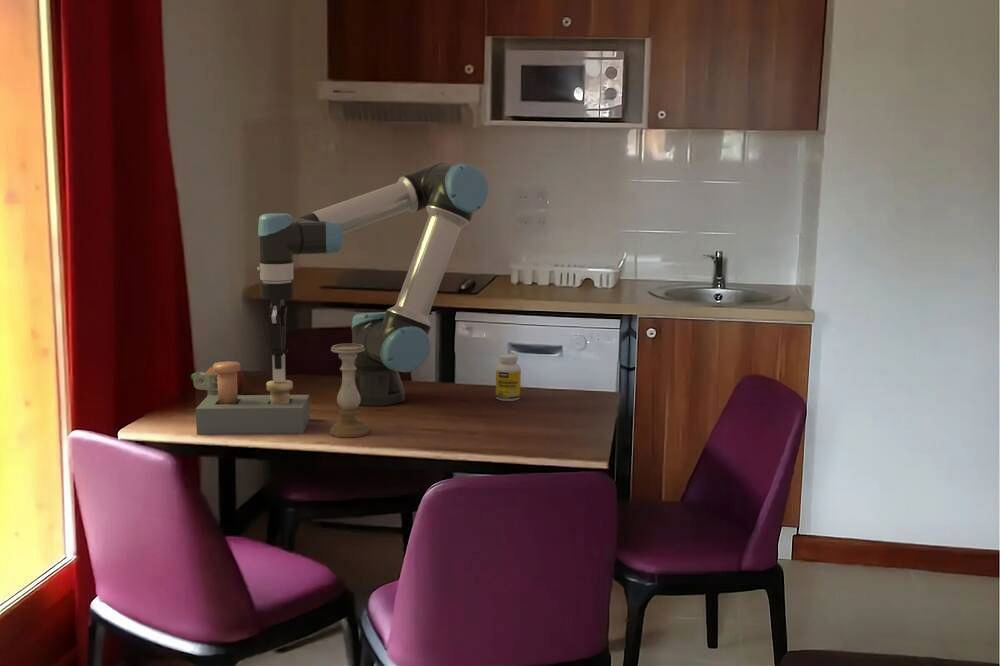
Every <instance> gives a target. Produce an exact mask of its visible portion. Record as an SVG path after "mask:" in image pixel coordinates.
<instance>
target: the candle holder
mask: <svg viewBox="0 0 1000 666" xmlns="http://www.w3.org/2000/svg"><path fill="white" fill-rule="evenodd" d="M364 350H365V347H364V346H363V345H361V344H352V343H339V344H338V343H337V344H333V345H332V346H331V348H330V351H331V352H332V353H335V354H338V358H339V359H340V360H341V366H340V368H339V370H340V371H341V374H342V375H341V377H342V378H341V386H340V388H339V391H338V394H337V395H336V402H337V403H336V404H337V405H338V407H340V409H339V410H338V414H339V415H340V417H341V420H340V421H337V422H335V423H334V424H333V426H331V427H330V429H329V434H330V435H331V436H334V437H338V438H357V437H363V436H365V435H367V434H368V433H369V427H368V426H367V425H365V424H364V423H365V422H363V421H361V420H358V419H357V418H358V416H359V413H360V410H359V408H358V406H360V405H359V404H360V401H361V397H360V394H359V392H358V390H357V387H356V385H355V376H354V373H355V370H356V369H357V368H356V366H355V365H354V360H355V359H356V357H357V353H359V352H363V351H364Z"/></svg>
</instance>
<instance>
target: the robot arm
mask: <svg viewBox="0 0 1000 666" xmlns="http://www.w3.org/2000/svg"><path fill="white" fill-rule="evenodd" d="M488 184H489V183H488V181H487V179H486V176H485V174H484V173H483V171H482V170H481V169H480V168H478V167H477V166H475V165H472V164H467V163H464V162H457V163H446V162H440V163H434V164H431V165H428V166H426V167H423V168H420V169H418V170H416V171H413V172H410V173H408V174H405V175H402V176H400V177H399V178H398V181H397V182H395V183H392V184H389V185H386V186H383V187H380V188H377V189H375V190H372V191H369V192H367V193H364V194H361V195H358V196H354V197H352V198H350V199H349V198H348V199H346V200H343V201H341V202H338V203H335V204H332V205H329V206H327V207H324V208H321V209H318V210H315V211H312V212H309V213H307V214H304V215H301V216H298V217H295V216H292V215H291V214H289V213H265V214H262V215H260V216H259V217H258V218H259V219H258V233H257V236H258V252H259V255H258V256H259V266H257V269H256V270H257V271H259V279H260V280H261V282H260V284H259V291H260V293H259V295H260V298H261V299H262V300H266V301H267V300H269V301H270V305H269V306H268V307H267V315H268V316H267V320H268V327H269V329H268V330H269V341H270V351H269V352H268V356H271V359H272V362H271V363H272V381H273V382H285V381H286V380H287V379H286V354H288V353H289V349H287V313H288V305H285V300H290V299H293V298H294V296H295V293H294V292H295V291H294V282H293V281H292V280H294V255H297V256H298V255H321V254H323V255H324V254H326V255H329V254H336V253H339V252H340V251H341V250H342V248H343V246H344V234H346V233H349V232H352V231H354V230H357V229H360V228H363V227H365V226H369V225H371V224H374V223H376V222H378V221H379V222H380V221H382V220H385V219H388V218H391V217H393V216H397V215H399V214H401V213H405V212H410V213H416V212H419V211H421V210H426V211H427V213H428V214H427V215H428V218H427V220H426V223H425V225H424V228H423V231H422V234H421V236H420V238H419V242H418V244H417V247H416V250H415V252H414V255H413V257H412V261H411V263H410V265H409V268H408V271H407V273H406V277H405V279H404V281H403V284H402V287H401V290H400V292H399V295H398V298H397V300H396V303H395V305H394V306H392V307H389V308H388V309H386V311H383V312H381V311H379V312H367V313H365V312H364V313H357V314H355V315H353V317H352V322H351V324H352V325H351V334H352V336H351V339H352V343H351V344H361V345H363V346H364V347H365V350H364V351H363V352H359V353H357V357H356V359H355V360H354V365H355V366H356V368H357V369H356V370H355V373H354V376H355V385H356V387H357V390H358V392H359V394H360V397H361V401H360V404H359V405H358V406H366V407H367V406H368V407H369V406H370V407H371V406H372V407H376V406H377V407H378V406H390V405H395V404H398V403H401V402H403V401H405V399H406V398H405V397H406V396H405V395H406V394H405V393H406V392H405V388H404V385H403V382H402V379H401V376H400V373H399V372H401V373H409V372H414V371H415V370H417V369H419V368H421V366H422V365H424V363H425V362H426V361H427V359H428V358H429V355H430V354H431V353H430V352H431V342H430V337H429V333H430V330H431V328H432V327H431V326H432V325H431V322H430V320H429V314H430V313H431V310H432V307H433V304H434V301H435V299H436V296H437V293H438V290H439V288H440V285H441V282H442V280H443V278H444V275H445V272H446V269H447V267H448V264H449V262H450V259H451V256H452V253H453V251H454V247H455V245H456V242H457V241H458V238H459V235H460V232H461V229H462V228H464V227H466V226H468V225H469V224H470V222H471V220H472V218H473V215H474V212H477V211H479V210H480V209H482V207H483V206H484V205H485V204H486V202H487V200H488V197H489V185H488Z"/></svg>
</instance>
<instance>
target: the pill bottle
mask: <svg viewBox="0 0 1000 666" xmlns="http://www.w3.org/2000/svg"><path fill="white" fill-rule="evenodd" d="M499 361H500V363H499V364H498V365H496V367H495V368H496V369H495V398H496V400H499V401H504V402H513V401H514V402H515V401H518V400H519V399H520V398H521V373H522V372H521V367H520V365H519V364H518V363H517V362H518V354H517V355H516V354H511V353H504V354H500V355H499Z"/></svg>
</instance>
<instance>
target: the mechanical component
mask: <svg viewBox="0 0 1000 666" xmlns="http://www.w3.org/2000/svg"><path fill="white" fill-rule="evenodd" d="M190 380H192V382H193V387H194V388H195V389H196V390H201V391H202V390H205V391H206V392H207V391H208V392H207V393H206V397H207V396H208V395H218V394H217V390H218V380H217V373H209V372H207V371H205V372H204V371H197V372H195V373H191V375H190Z"/></svg>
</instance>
